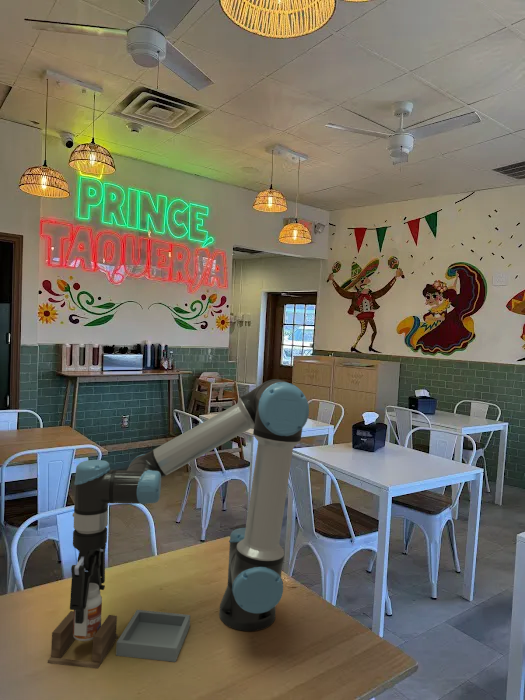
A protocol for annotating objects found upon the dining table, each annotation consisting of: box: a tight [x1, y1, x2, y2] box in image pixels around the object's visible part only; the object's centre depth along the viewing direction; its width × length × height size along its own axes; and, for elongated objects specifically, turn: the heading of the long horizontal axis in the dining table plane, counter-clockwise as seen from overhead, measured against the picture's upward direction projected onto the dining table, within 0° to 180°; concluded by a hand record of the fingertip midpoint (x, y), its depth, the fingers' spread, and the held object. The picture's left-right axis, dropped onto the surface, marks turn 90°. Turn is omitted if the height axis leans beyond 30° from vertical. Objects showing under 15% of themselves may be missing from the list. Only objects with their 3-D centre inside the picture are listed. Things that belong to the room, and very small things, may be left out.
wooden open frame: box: [47, 610, 119, 669], centre depth 115 cm, size 12×12×6 cm
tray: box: [115, 609, 191, 663], centre depth 120 cm, size 14×14×3 cm
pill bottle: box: [73, 583, 103, 642], centre depth 115 cm, size 6×6×11 cm
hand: (87, 625), depth 115 cm, fingers closed on pill bottle, 6 cm apart
